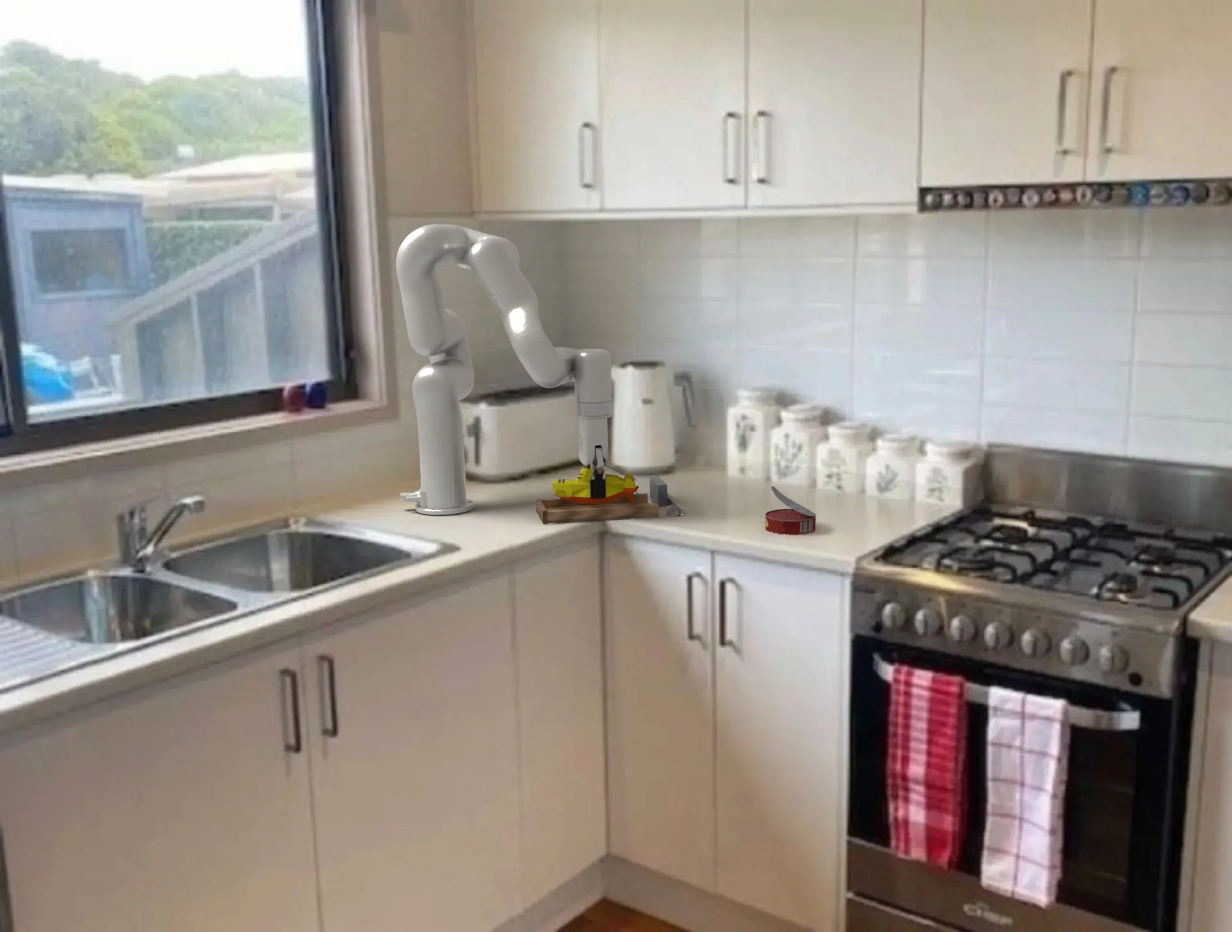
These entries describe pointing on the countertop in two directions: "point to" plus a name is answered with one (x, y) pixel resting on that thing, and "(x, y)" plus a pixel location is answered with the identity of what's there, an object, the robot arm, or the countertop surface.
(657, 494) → the grey rectangular block
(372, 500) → the countertop surface
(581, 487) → the toy boat
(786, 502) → the canned food
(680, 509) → the bay
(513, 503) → the countertop surface
